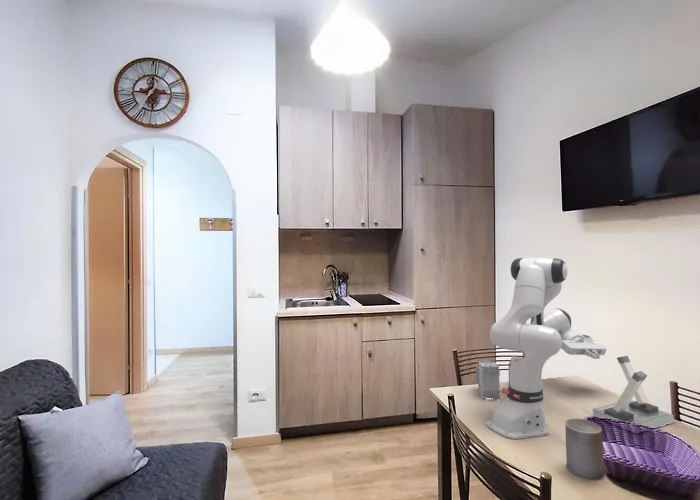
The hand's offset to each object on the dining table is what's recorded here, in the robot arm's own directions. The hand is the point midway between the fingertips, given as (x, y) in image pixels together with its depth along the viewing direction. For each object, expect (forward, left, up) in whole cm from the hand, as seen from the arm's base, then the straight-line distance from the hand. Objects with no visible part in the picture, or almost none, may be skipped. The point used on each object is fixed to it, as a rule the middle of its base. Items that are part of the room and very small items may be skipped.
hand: (597, 357), depth 161 cm
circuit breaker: (-38, +27, -19) cm, 50 cm away
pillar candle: (-54, -32, -19) cm, 66 cm away
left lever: (-14, -17, -14) cm, 26 cm away
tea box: (-22, +22, -19) cm, 36 cm away
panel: (-6, -17, -19) cm, 26 cm away
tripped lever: (+1, -17, -14) cm, 22 cm away
